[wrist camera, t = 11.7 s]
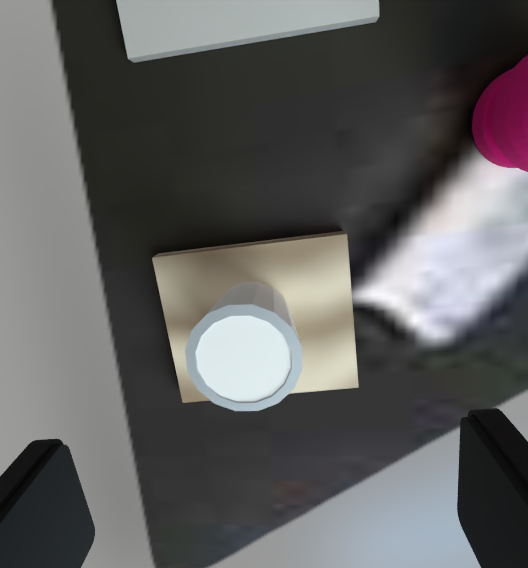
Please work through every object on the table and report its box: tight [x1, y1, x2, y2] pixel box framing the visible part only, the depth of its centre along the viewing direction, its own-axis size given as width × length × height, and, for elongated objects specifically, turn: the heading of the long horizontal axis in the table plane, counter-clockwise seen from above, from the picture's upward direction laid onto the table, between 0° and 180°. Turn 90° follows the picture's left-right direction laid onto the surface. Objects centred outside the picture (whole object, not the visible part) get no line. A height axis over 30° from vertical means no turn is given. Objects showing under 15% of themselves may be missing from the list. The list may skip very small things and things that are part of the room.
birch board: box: [152, 231, 358, 403], centre depth 30 cm, size 12×14×2 cm
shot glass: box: [185, 282, 302, 411], centre depth 26 cm, size 7×7×7 cm
